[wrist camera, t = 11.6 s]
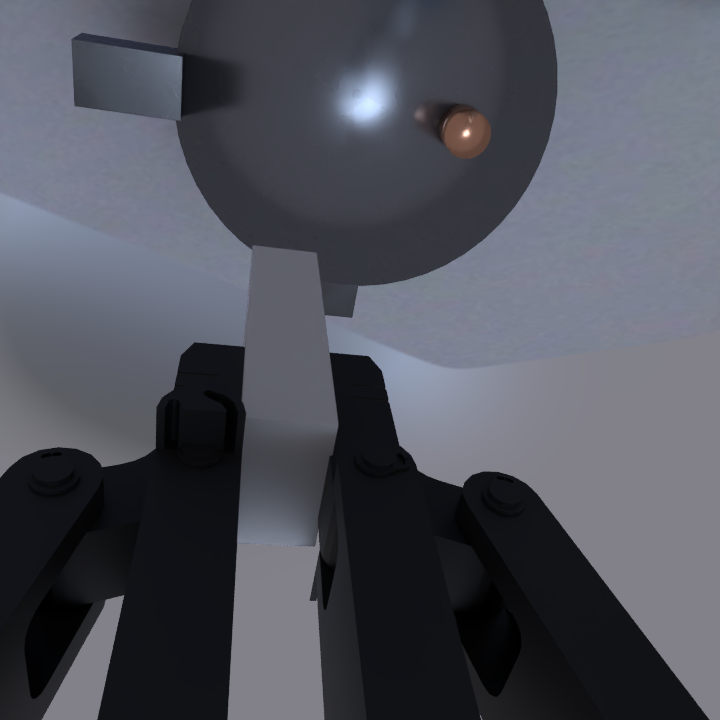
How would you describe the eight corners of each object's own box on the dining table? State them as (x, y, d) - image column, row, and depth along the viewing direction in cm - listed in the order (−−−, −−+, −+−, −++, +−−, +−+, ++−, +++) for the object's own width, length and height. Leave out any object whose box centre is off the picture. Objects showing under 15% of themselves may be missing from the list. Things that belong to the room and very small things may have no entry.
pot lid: (74, -185, 29) (56, -193, 27) (603, -72, 34) (627, -71, 31) (90, 249, 40) (79, 269, 37) (493, 292, 44) (505, 314, 42)
